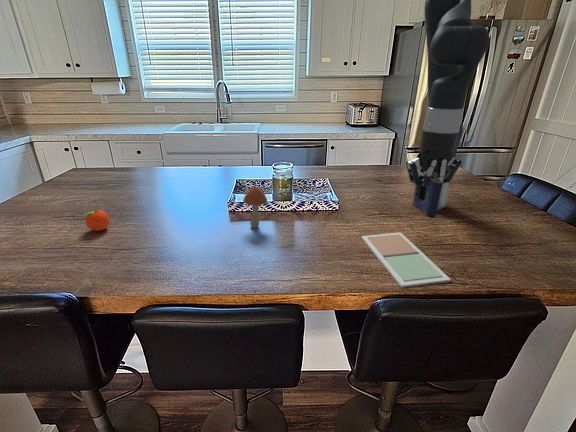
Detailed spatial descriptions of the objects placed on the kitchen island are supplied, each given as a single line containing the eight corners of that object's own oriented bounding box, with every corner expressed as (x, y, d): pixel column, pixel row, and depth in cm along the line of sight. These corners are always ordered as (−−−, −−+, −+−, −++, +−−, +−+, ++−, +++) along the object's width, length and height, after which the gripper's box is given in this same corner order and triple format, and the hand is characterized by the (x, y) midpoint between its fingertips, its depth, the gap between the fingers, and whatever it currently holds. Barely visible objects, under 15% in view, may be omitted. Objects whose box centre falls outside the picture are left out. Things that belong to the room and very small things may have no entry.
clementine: (84, 237, 103) (78, 217, 100) (85, 228, 109) (79, 209, 106) (111, 231, 106) (106, 212, 103) (111, 223, 112) (106, 205, 109)
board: (400, 234, 106) (401, 231, 106) (450, 281, 83) (451, 278, 82) (361, 237, 104) (361, 235, 103) (401, 287, 81) (401, 284, 80)
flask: (409, 203, 84) (417, 164, 80) (419, 203, 85) (428, 164, 80) (428, 218, 76) (438, 176, 71) (439, 218, 76) (450, 175, 72)
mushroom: (271, 223, 113) (270, 183, 106) (262, 233, 106) (260, 191, 99) (250, 220, 115) (248, 180, 108) (240, 229, 108) (238, 188, 102)
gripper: (457, 124, 76) (442, 192, 84) (403, 126, 74) (392, 195, 81) (480, 130, 69) (461, 203, 77) (421, 132, 67) (408, 207, 74)
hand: (426, 198), depth 79 cm, fingers closed on flask, 3 cm apart
